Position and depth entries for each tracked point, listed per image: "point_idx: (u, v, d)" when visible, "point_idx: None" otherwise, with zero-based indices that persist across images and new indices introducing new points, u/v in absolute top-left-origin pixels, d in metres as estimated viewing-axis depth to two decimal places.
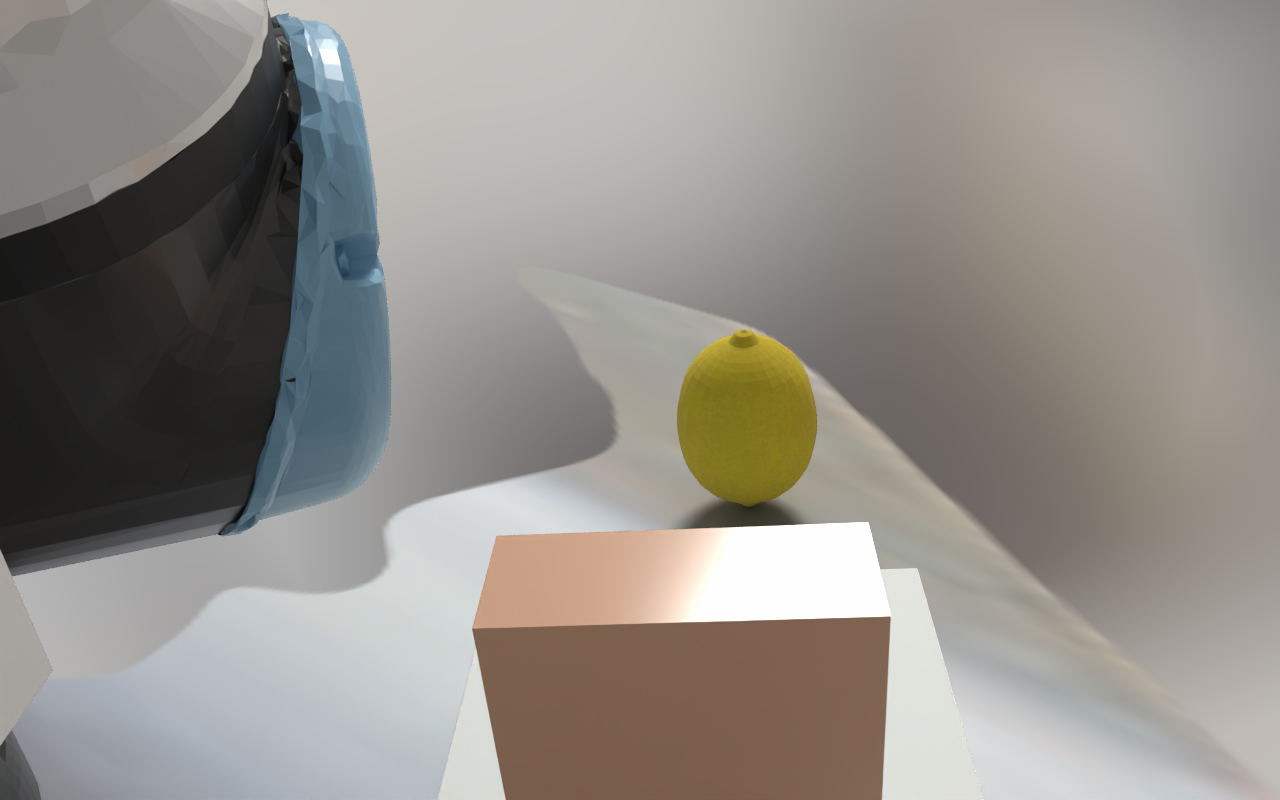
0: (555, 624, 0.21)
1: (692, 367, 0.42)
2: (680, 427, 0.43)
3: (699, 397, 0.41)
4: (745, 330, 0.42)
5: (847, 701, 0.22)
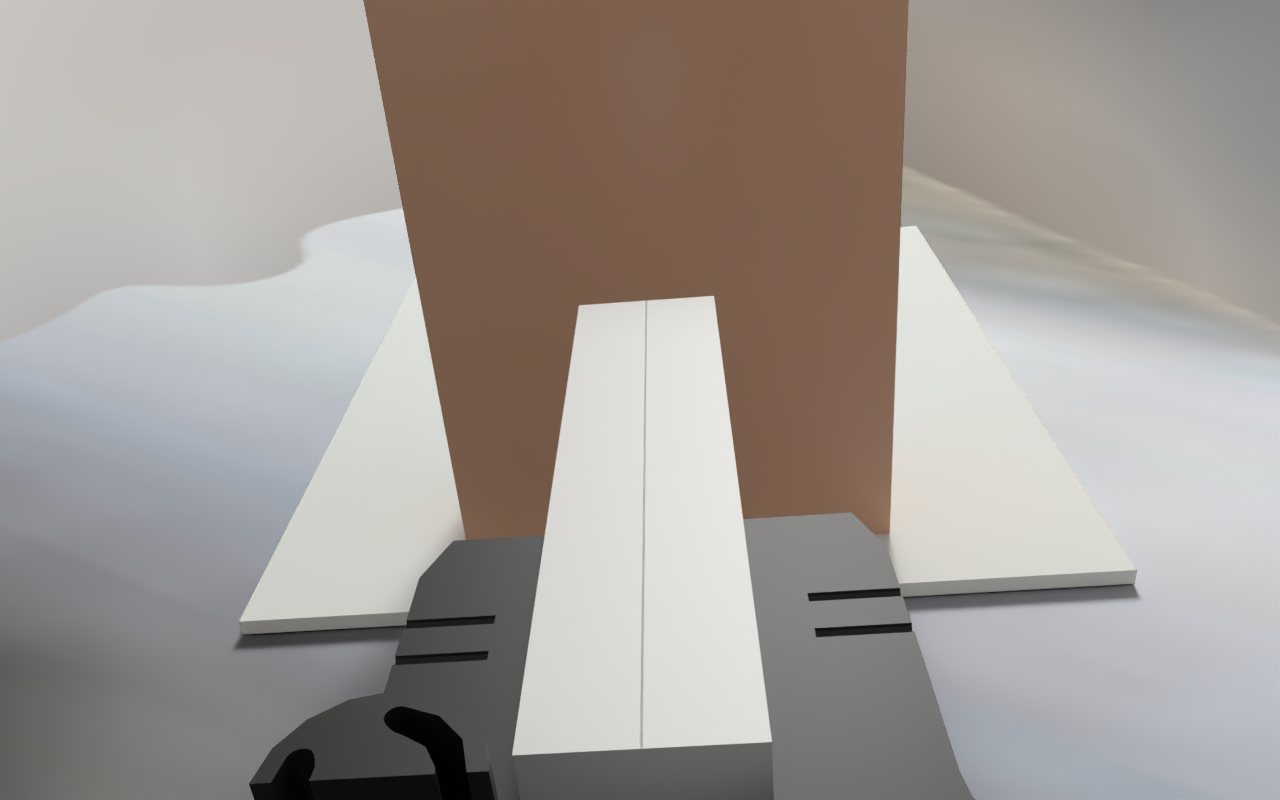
0: None
1: None
2: None
3: None
4: None
5: None
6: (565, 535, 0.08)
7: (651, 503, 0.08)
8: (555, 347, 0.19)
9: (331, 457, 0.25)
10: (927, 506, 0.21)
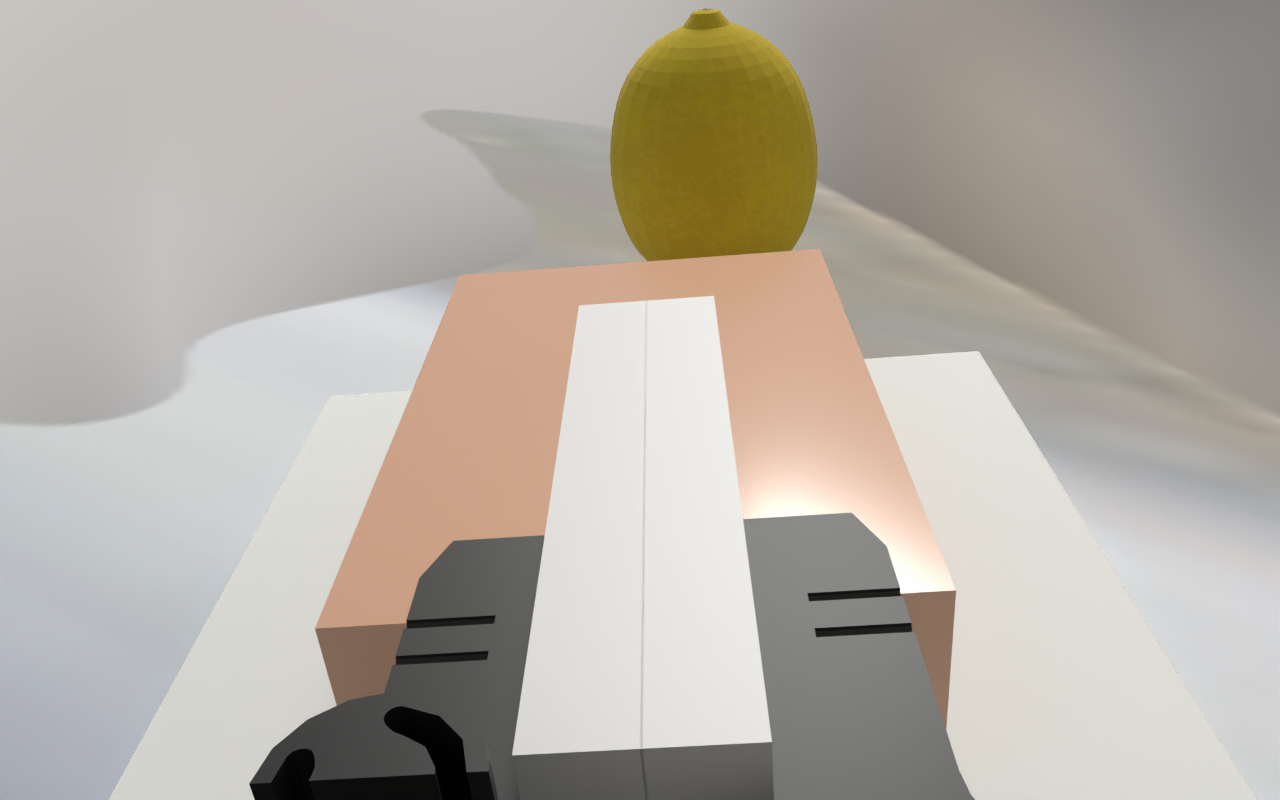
0: (532, 271, 0.24)
1: (630, 72, 0.28)
2: (614, 167, 0.29)
3: (641, 106, 0.27)
4: (708, 9, 0.28)
5: (796, 289, 0.22)
6: (565, 535, 0.08)
7: (651, 503, 0.08)
8: (521, 443, 0.17)
9: (131, 780, 0.16)
10: None
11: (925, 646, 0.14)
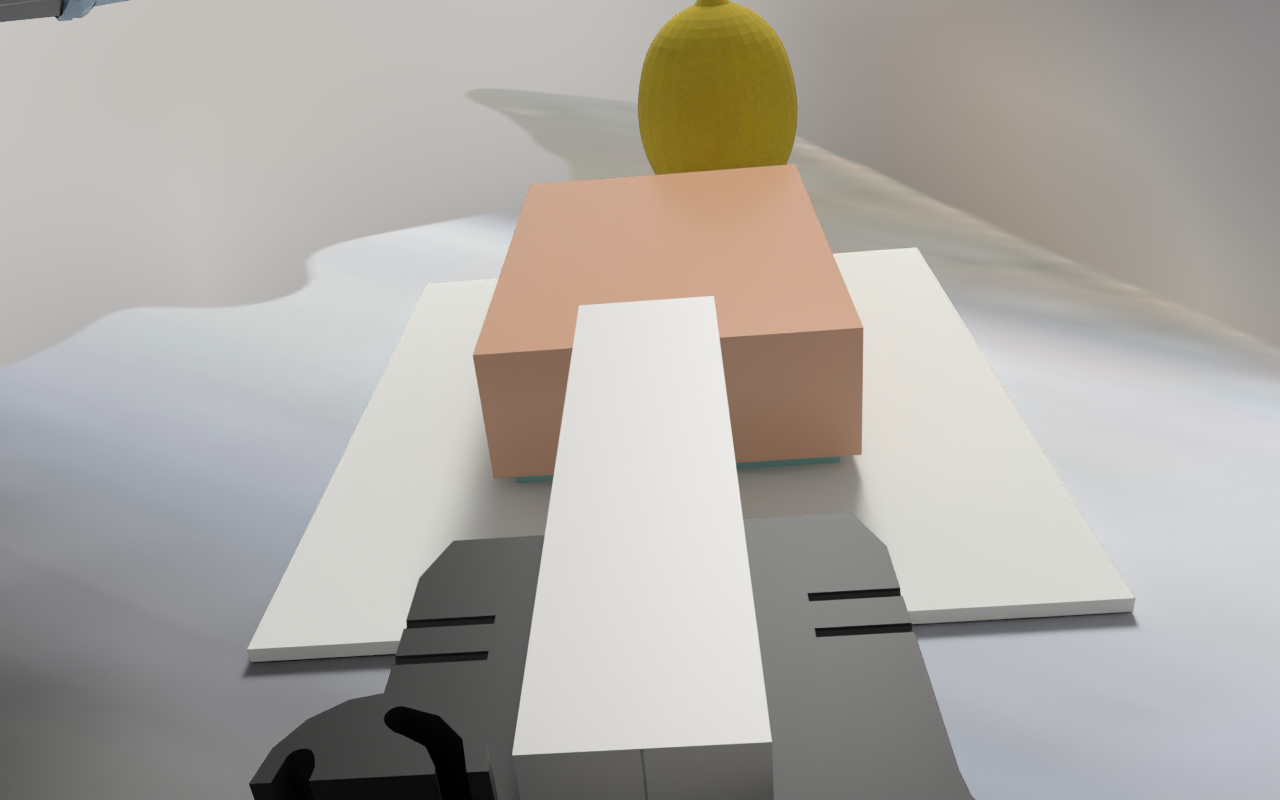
0: (583, 181, 0.33)
1: (654, 40, 0.37)
2: (641, 113, 0.37)
3: (662, 64, 0.36)
4: None
5: (776, 187, 0.31)
6: (565, 535, 0.08)
7: (651, 503, 0.08)
8: (588, 271, 0.26)
9: (337, 482, 0.25)
10: (927, 533, 0.21)
11: (846, 367, 0.22)
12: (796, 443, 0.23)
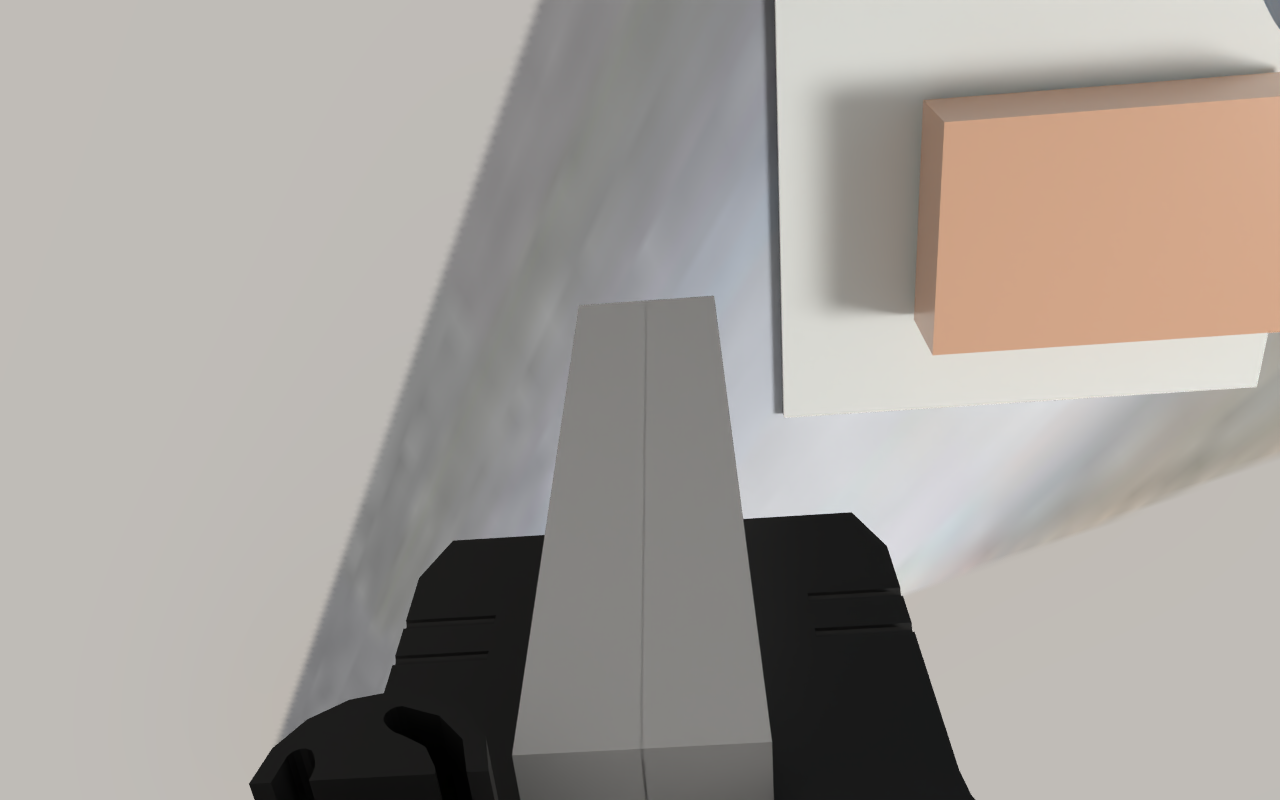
0: None
1: None
2: None
3: None
4: None
5: (1229, 314, 0.36)
6: (565, 535, 0.08)
7: (651, 503, 0.08)
8: (1079, 180, 0.34)
9: None
10: (844, 341, 0.41)
11: (927, 335, 0.38)
12: (917, 288, 0.39)
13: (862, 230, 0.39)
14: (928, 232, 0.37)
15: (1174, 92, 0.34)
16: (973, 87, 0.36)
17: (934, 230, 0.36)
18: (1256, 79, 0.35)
